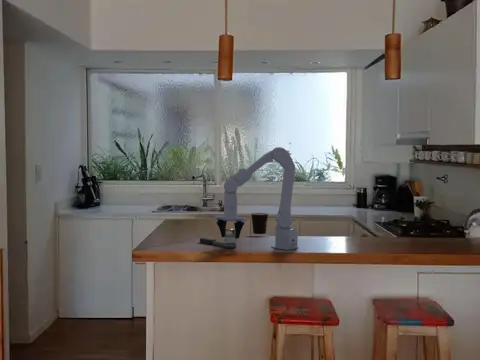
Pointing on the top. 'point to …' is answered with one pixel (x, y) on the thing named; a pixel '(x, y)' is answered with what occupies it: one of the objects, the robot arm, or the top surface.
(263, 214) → the coffee mug
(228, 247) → the ratchet
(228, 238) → the socket
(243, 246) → the top surface
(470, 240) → the top surface
